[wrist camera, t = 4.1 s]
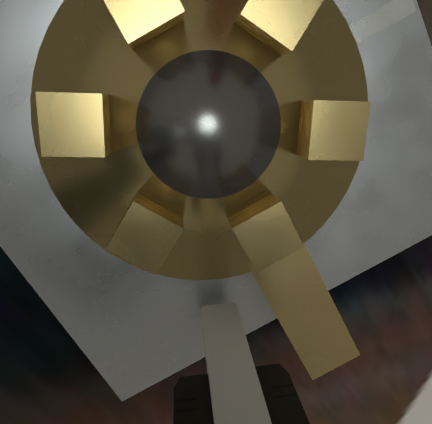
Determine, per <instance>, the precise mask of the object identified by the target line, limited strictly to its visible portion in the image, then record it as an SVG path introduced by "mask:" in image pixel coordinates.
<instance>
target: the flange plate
mask: <svg viewBox="0 0 432 424" xmlns="http://www.w3.org/2000/svg"><path fill="white" fill-rule="evenodd" d="M63 1H64V0H0V246H1V248H2V249H3V250H4V252H5V253H6V254H7V255H8V257H9V258H10V259H11V260H12V262H13V263H14V264H15V266H16V267H17V268H18V269H19V271H20V272H21V273H22V274H23V276H24V277H25V278H26V280H27V281H28V282H29V283H30V285H31V286H32V287H33V289H34V290H35V291H36V292H37V294H38V295H39V296H40V297H41V299H42V300H43V301H44V303H45V304H46V305H47V306H48V308H49V309H50V310H51V311H52V313H53V314H54V315H55V317H56V318H57V319H58V320H59V322H60V323H61V324H62V326H63V327H64V328H65V329H66V331H67V332H68V333H69V334H70V336H71V337H72V338H73V340H74V341H75V342H76V343H77V345H78V346H79V347H80V348H81V350H82V351H83V352H84V354H85V355H86V356H87V357H88V359H89V360H90V361H91V363H92V364H93V365H94V366H95V368H96V369H97V370H98V371H99V373H100V374H101V375H102V377H103V378H104V379H105V380H106V382H107V383H108V384H109V386H110V387H111V388H112V389H113V391H114V392H115V393H116V394H117V396H118V397H119V398H120V400H121V401H124V400H126V399H128V398H129V397H131V396H133V395H135V394H137V393H139V392H141V391H143V390H144V389H146V388H148V387H150V386H152V385H154V384H156V383H157V382H159V381H161V380H163V379H165V378H167V377H169V376H170V375H172V374H174V373H176V372H178V371H180V370H182V369H183V368H185V367H187V366H189V365H191V364H193V363H195V362H196V361H198V360H200V359H202V358H204V357H205V347H204V337H203V326H202V315H201V306H207V305H216V304H225V303H233V302H236V305H237V308H238V312H239V315H240V318H241V322H242V325H243V328H244V332H245V335H247V334H249V333H250V332H252V331H254V330H256V329H258V328H260V327H262V326H263V325H265V324H267V323H269V322H271V321H273V320H275V319H276V318H277V317H276V315H275V313H274V311H273V310H272V308H271V306H270V304H269V303H268V301H267V299H266V297H265V296H264V294H263V292H262V290H261V289H260V287H259V285H258V283H257V281H256V280H255V278H254V276H253V274H252V273H251V272H249V273H246V274H243V275H239V276H234V277H229V278H224V279H213V280H184V279H178V278H172V277H165V276H161V275H158V274H154V273H151V272H148V271H144V270H142V269H140V268H137V267H135V266H133V265H130V264H128V263H126V262H124V261H122V260H121V259H119V258H117V257H115V256H114V255H112V254H110V253H109V252H107V251H106V250H105V249H103V248H102V247H101V246H99V245H98V244H97V243H95V242H94V241H93V240H91V239H90V238H89V237H88V236H87V235H86V234H85V233H84V232H83V231H82V230H81V229H80V228H79V227H78V226H77V225H76V224H75V223H74V221H73V220H72V219H71V218H70V216H69V215H68V214H67V213H66V211H65V210H64V209H63V208H62V206H61V204H60V203H59V201H58V199H57V198H56V196H55V195H54V193H53V191H52V190H51V188H50V186H49V183H48V181H47V179H46V177H45V174H44V172H43V170H42V168H41V164H40V161H39V158H38V154H37V151H36V148H35V143H34V137H33V131H32V125H31V105H30V96H31V87H32V77H33V71H34V67H35V63H36V59H37V55H38V51H39V48H40V46H41V43H42V41H43V38H44V36H45V33H46V31H47V28H48V26H49V24H50V23H51V21H52V19H53V17H54V16H55V14H56V12H57V10H58V9H59V7H60V5H61V4H62V3H63ZM334 2H335V3H336V5H337V7H338V8H339V10H340V11H341V13H342V14H343V16H344V18H345V19H346V21H347V23H348V25H349V27H350V29H351V32H352V34H353V36H354V38H355V40H356V42H357V46H358V49H359V52H360V55H361V58H362V62H363V65H364V71H365V77H366V82H367V92H368V102H371V104H370V112H369V120H368V128H367V135H366V143H365V151H364V159H363V161H360V162H359V165H358V168H357V171H356V173H355V175H354V178H353V180H352V182H351V184H350V186H349V189H348V191H347V192H346V194H345V196H344V197H343V199H342V201H341V202H340V204H339V206H338V207H337V208H336V210H335V211H334V212H333V214H332V215H331V216H330V217H329V219H328V220H327V221H326V223H325V224H324V225H323V226H322V227H321V228H320V229H319V230H318V231H317V232H316V233H315V234H314V235H313V236H312V237H311V238H310V239H308V240H307V241H306V242H305V243H304V244H305V246H306V248H307V250H308V252H309V254H310V256H311V258H312V260H313V262H314V264H315V266H316V268H317V270H318V272H319V274H320V276H321V278H322V280H323V282H324V284H325V286H326V288H327V290H330V289H332V288H334V287H336V286H338V285H340V284H341V283H343V282H345V281H347V280H349V279H351V278H353V277H354V276H356V275H358V274H360V273H362V272H364V271H366V270H368V269H369V268H371V267H373V266H375V265H377V264H379V263H381V262H382V261H384V260H386V259H388V258H390V257H392V256H394V255H395V254H397V253H399V252H401V251H403V250H405V249H407V248H408V247H410V246H412V245H414V244H416V243H418V242H420V241H421V240H423V239H425V238H427V237H429V236H431V235H432V46H431V43H430V40H429V37H428V34H427V31H426V28H425V25H424V22H423V19H422V16H421V13H420V9H419V6H418V3H417V0H334Z"/></svg>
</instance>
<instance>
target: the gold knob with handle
mask: <svg viewBox="0 0 432 424" xmlns="http://www.w3.org/2000/svg"><path fill="white" fill-rule="evenodd" d="M370 104H371V102H368V92H367V82H366V77H365V71H364V65H363V62H362V58H361V55H360V52H359V49H358V46H357V42H356V40H355V38H354V36H353V34H352V32H351V29H350V27H349V25H348V23H347V21H346V19H345V18H344V16H343V14H342V13H341V11H340V10H339V8H338V7H337V5H336V3H335V2H334V0H64V1H63V3H62V4H61V5H60V7H59V9H58V10H57V12H56V14H55V16H54V17H53V19H52V21H51V23H50V24H49V26H48V28H47V31H46V33H45V36H44V38H43V41H42V43H41V46H40V48H39V51H38V55H37V59H36V63H35V67H34V71H33V77H32V87H31V96H30V105H31V125H32V131H33V137H34V143H35V148H36V151H37V154H38V158H39V161H40V164H41V168H42V170H43V172H44V174H45V177H46V179H47V181H48V183H49V186H50V188H51V190H52V191H53V193H54V195H55V196H56V198H57V199H58V201H59V203H60V204H61V206H62V208H63V209H64V210H65V211H66V213H67V214H68V215H69V216H70V218H71V219H72V220H73V221H74V223H75V224H76V225H77V226H78V227H79V228H80V229H81V230H82V231H83V232H84V233H85V234H86V235H87V236H88V237H89V238H90V239H91V240H93V241H94V242H95V243H97V244H98V245H99V246H101V247H102V248H103V249H105V250H106V251H107V252H109V253H110V254H112V255H114V256H115V257H117V258H119V259H121V260H122V261H124V262H126V263H128V264H130V265H133V266H135V267H137V268H140V269H142V270H144V271H148V272H151V273H154V274H158V275H161V276H165V277H172V278H178V279H184V280H213V279H224V278H229V277H234V276H239V275H243V274H246V273H249V272H251V273H252V274H253V276H254V278H255V280H256V281H257V283H258V285H259V287H260V289H261V290H262V292H263V294H264V296H265V297H266V299H267V301H268V303H269V304H270V306H271V308H272V310H273V311H274V313H275V315H276V317H277V318H278V320H279V322H280V324H281V325H282V327H283V329H284V331H285V333H286V334H287V336H288V338H289V340H290V341H291V343H292V345H293V347H294V348H295V350H296V352H297V354H298V355H299V357H300V359H301V361H302V362H303V364H304V366H305V368H306V370H307V371H308V373H309V375H310V377H311V378H312V380H314V379H316V378H318V377H320V376H322V375H324V374H325V373H327V372H329V371H331V370H333V369H335V368H337V367H339V366H341V365H342V364H344V363H346V362H348V361H350V360H352V359H354V358H356V357H358V356H359V355H360V353H359V351H358V349H357V347H356V345H355V343H354V341H353V339H352V337H351V335H350V333H349V332H348V330H347V328H346V326H345V324H344V322H343V320H342V318H341V316H340V314H339V312H338V310H337V308H336V306H335V304H334V302H333V300H332V298H331V296H330V294H329V292H328V290H327V288H326V286H325V284H324V282H323V280H322V278H321V276H320V274H319V272H318V270H317V268H316V266H315V264H314V262H313V260H312V258H311V256H310V254H309V252H308V250H307V248H306V246H305V244H304V243H305V242H306V241H307V240H308V239H310V238H311V237H312V236H313V235H314V234H315V233H316V232H317V231H318V230H319V229H320V228H321V227H322V226H323V225H324V224H325V223H326V221H327V220H328V219H329V217H330V216H331V215H332V214H333V212H334V211H335V210H336V208H337V207H338V206H339V204H340V202H341V201H342V199H343V197H344V196H345V194H346V192H347V191H348V189H349V186H350V184H351V182H352V180H353V178H354V175H355V173H356V171H357V168H358V165H359V162H360V161H363V159H364V151H365V143H366V135H367V128H368V120H369V112H370Z"/></svg>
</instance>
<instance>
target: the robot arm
mask: <svg viewBox="0 0 432 424" xmlns="http://www.w3.org/2000/svg"><path fill="white" fill-rule="evenodd" d="M201 315H202V326H203V337H204V347H205V358H206V367H207V374H203V375H195V376H187V377H180V378H179V380H178V382H177V384H176V386H175V388H174V424H310V423H309V421H308V418H307V416H306V414H305V411H304V409H303V406H302V404H301V402H300V399H299V397H298V395H297V392H296V390H295V387H294V386H293V382H292V380H291V378H290V375H289V373H288V372H287V371H286V370H285V369H284V368H283V367H282V366H281V365H280V364H273V365H265V366H257V367H255V365H254V362H253V359H252V355H251V352H250V349H249V345H248V342H247V338H246V335H245V332H244V328H243V325H242V322H241V318H240V315H239V312H238V308H237V305H236V302H233V303H225V304H216V305H207V306H201Z"/></svg>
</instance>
